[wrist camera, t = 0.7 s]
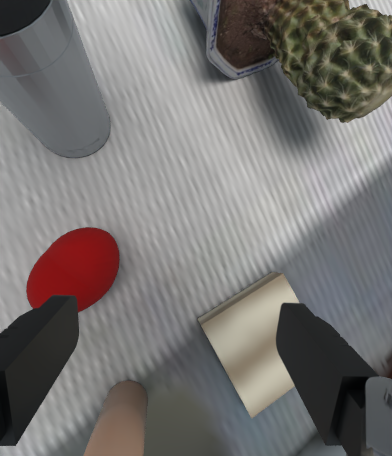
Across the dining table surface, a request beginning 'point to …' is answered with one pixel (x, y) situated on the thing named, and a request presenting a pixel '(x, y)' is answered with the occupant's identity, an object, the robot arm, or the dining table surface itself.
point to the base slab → (252, 341)
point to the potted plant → (306, 49)
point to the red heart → (75, 268)
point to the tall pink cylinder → (120, 422)
